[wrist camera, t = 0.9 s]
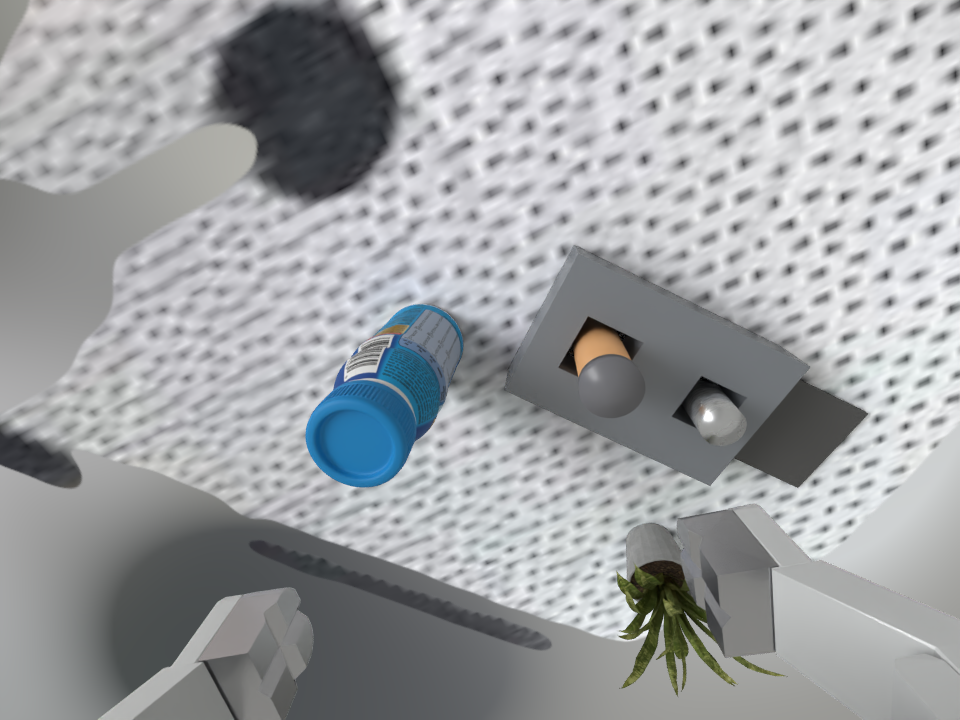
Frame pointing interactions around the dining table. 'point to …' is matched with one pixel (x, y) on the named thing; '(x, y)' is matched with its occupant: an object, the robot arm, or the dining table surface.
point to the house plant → (664, 603)
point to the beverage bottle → (386, 397)
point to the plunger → (714, 414)
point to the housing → (650, 363)
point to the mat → (800, 434)
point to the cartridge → (606, 372)
